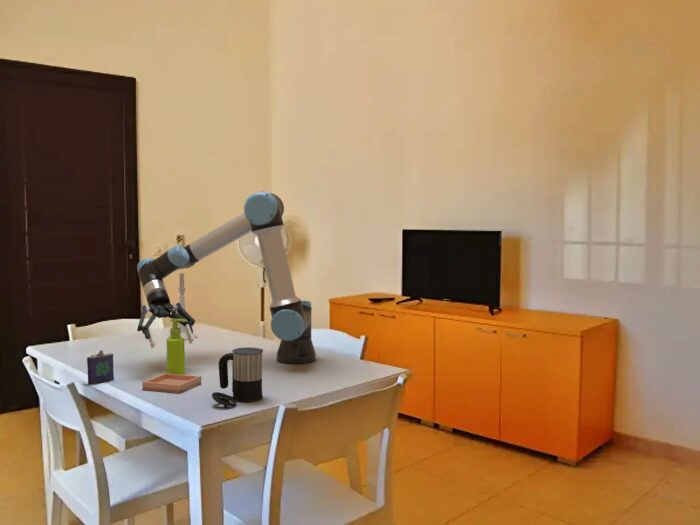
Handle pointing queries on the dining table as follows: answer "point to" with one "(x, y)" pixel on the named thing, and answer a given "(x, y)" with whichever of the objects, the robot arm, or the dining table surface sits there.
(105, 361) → the flask
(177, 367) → the soap dispenser
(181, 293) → the candlestick
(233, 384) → the milk frother
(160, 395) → the dining table surface
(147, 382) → the holder dish
